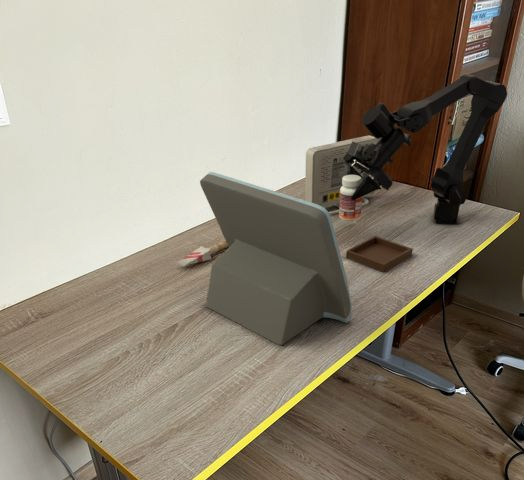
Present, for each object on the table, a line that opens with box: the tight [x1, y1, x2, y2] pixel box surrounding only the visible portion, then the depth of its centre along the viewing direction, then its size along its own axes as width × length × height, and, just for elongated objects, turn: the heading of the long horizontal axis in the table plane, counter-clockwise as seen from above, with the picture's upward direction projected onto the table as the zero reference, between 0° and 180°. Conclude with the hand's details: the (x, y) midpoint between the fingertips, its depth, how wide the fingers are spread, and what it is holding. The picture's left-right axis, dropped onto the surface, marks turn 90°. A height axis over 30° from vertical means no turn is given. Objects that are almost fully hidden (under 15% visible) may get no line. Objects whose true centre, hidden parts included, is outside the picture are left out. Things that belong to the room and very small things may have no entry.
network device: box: [304, 135, 380, 216], centre depth 176 cm, size 26×9×20 cm, turn 120°
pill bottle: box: [338, 175, 363, 222], centre depth 154 cm, size 6×6×11 cm
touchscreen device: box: [199, 171, 353, 346], centre depth 122 cm, size 35×20×30 cm, turn 45°
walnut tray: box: [345, 235, 414, 273], centre depth 151 cm, size 13×12×2 cm
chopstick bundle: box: [176, 240, 229, 267], centre depth 154 cm, size 4×3×20 cm
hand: (346, 195), depth 153 cm, fingers closed on pill bottle, 6 cm apart
